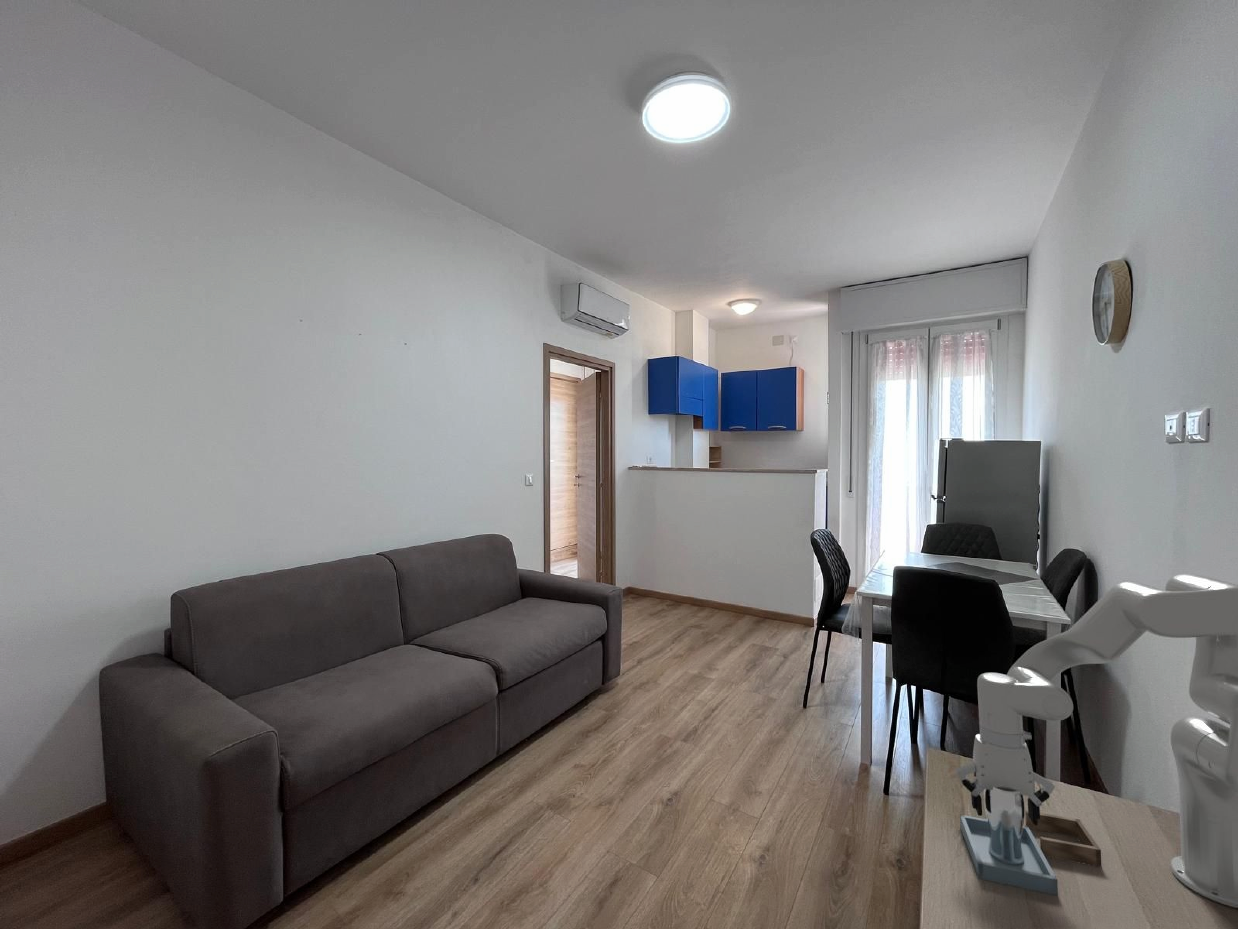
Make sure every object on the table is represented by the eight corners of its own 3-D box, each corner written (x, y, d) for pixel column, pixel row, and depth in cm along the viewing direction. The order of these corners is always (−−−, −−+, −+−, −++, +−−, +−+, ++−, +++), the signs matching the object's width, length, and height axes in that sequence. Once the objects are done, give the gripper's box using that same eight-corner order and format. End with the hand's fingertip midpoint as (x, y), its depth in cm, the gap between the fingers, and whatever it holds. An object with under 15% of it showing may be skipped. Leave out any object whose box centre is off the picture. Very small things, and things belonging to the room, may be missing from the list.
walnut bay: (1080, 835, 119) (1079, 819, 119) (1101, 867, 109) (1100, 850, 109) (1025, 825, 122) (1025, 810, 122) (1042, 855, 113) (1041, 839, 113)
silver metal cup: (988, 860, 111) (985, 787, 111) (983, 839, 117) (981, 770, 117) (1030, 871, 108) (1027, 796, 108) (1023, 849, 114) (1020, 778, 114)
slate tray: (1028, 840, 118) (1028, 827, 118) (1057, 895, 103) (1057, 879, 103) (960, 827, 122) (959, 814, 122) (978, 878, 107) (978, 863, 107)
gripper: (1044, 732, 113) (1048, 813, 113) (950, 721, 119) (953, 798, 119) (1058, 750, 106) (1063, 836, 106) (957, 737, 112) (961, 819, 112)
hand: (1005, 816), depth 113 cm, fingers open, 9 cm apart
